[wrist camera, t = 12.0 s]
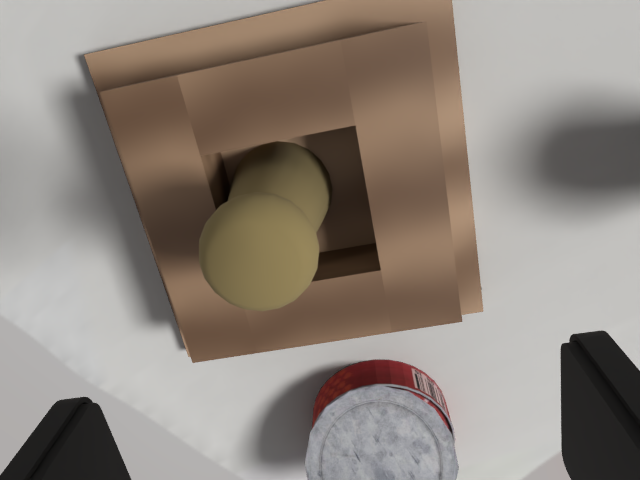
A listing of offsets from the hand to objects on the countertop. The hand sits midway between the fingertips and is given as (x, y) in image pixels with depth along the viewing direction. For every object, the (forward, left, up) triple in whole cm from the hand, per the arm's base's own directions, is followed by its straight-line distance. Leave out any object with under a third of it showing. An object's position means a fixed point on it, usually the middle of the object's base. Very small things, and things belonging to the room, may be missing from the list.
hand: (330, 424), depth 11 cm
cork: (+1, -4, -22) cm, 22 cm away
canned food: (+19, -1, -23) cm, 30 cm away
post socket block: (+1, -3, -23) cm, 23 cm away
